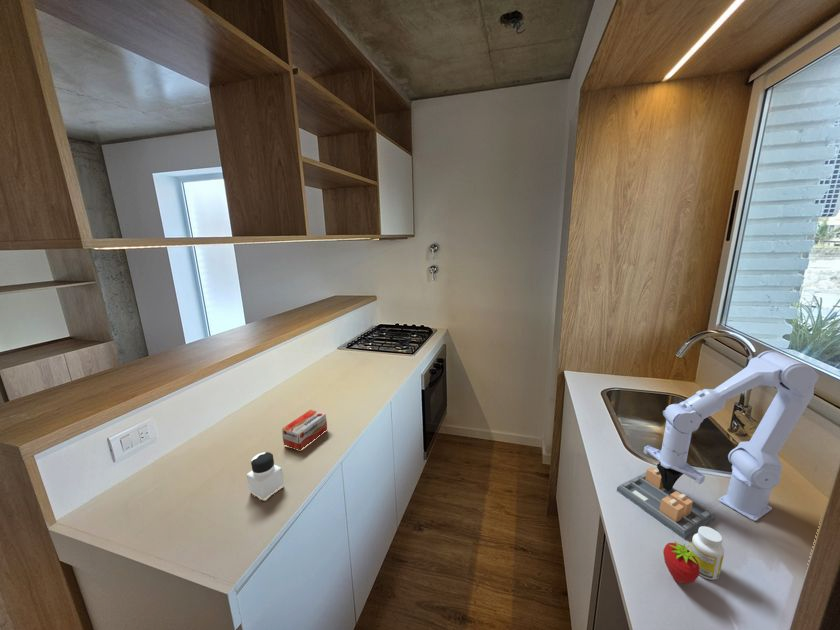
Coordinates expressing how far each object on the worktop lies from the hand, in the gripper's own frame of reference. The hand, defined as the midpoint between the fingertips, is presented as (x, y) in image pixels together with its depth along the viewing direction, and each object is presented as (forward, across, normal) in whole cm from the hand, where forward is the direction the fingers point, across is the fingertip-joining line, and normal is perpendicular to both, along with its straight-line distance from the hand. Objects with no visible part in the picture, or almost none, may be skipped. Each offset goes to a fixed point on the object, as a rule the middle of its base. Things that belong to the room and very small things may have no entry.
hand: (667, 488), depth 95 cm
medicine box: (+3, -77, -91) cm, 119 cm away
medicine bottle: (+3, -55, -105) cm, 118 cm away
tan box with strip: (+1, +5, -4) cm, 7 cm away
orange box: (+1, +5, -8) cm, 10 cm away
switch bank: (+3, +1, -4) cm, 5 cm away
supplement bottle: (+3, +16, -15) cm, 22 cm away
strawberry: (+3, +15, -23) cm, 28 cm away
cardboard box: (+1, -3, 0) cm, 4 cm away
